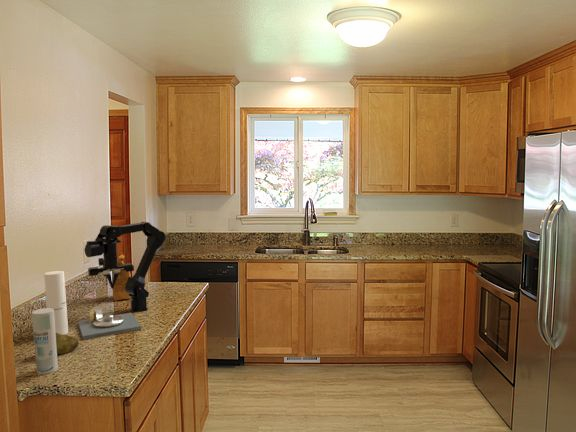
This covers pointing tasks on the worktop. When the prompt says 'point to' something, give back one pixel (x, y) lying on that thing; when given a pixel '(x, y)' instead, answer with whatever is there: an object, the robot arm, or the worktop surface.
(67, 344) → the potato
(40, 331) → the spray can
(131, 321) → the base board
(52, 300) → the cylindrical container
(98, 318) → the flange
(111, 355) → the worktop surface
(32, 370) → the worktop surface
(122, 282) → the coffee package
